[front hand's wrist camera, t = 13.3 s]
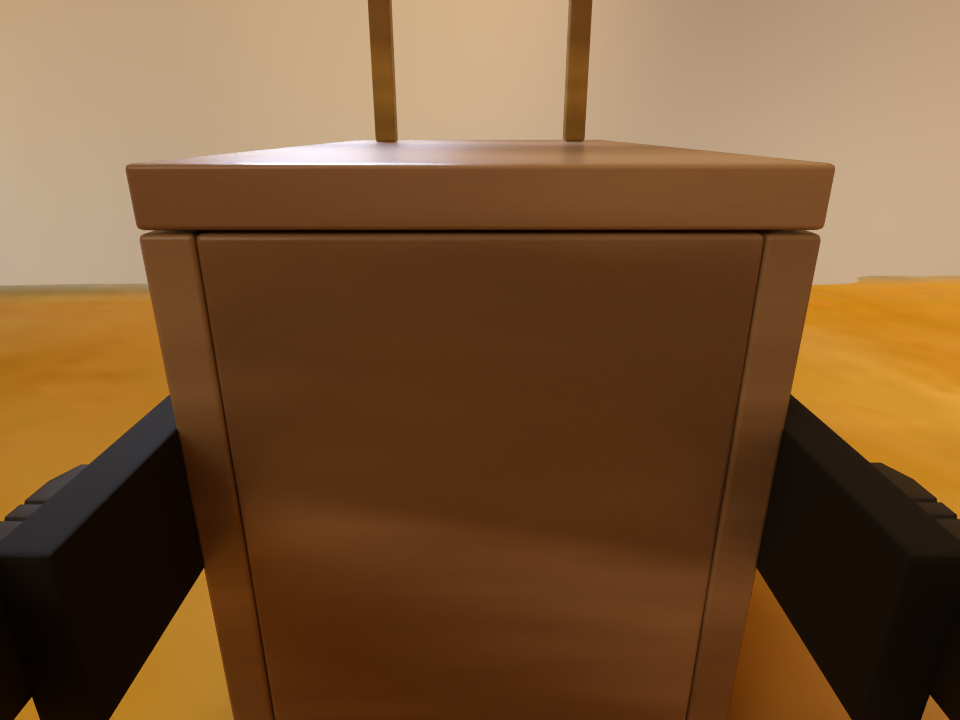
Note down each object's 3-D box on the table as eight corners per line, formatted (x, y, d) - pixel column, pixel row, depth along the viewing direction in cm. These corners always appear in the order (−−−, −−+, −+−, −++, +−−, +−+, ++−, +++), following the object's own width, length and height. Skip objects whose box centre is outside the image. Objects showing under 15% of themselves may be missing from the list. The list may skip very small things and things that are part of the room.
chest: (373, 406, 28) (356, 165, 24) (587, 406, 28) (603, 165, 24) (239, 755, 12) (136, 234, 9) (721, 755, 12) (824, 234, 9)
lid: (360, 163, 25) (343, -81, 22) (600, 163, 25) (616, -82, 22) (135, 231, 9) (-44, -673, 6) (825, 231, 9) (1003, -674, 6)
